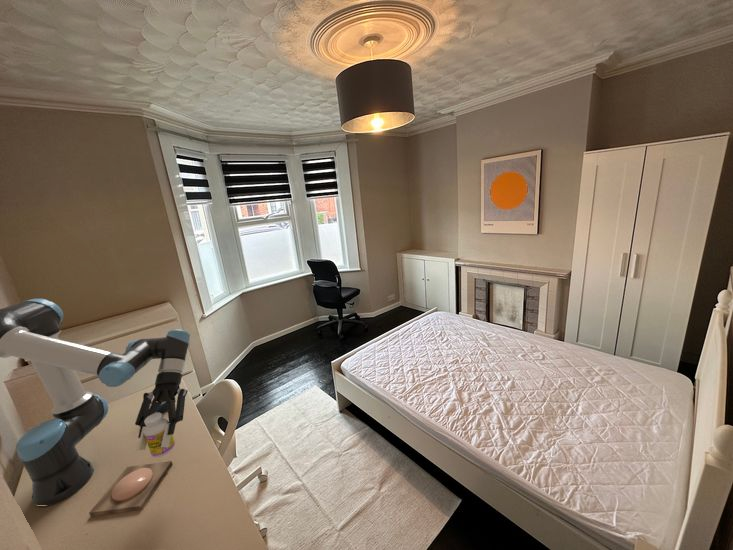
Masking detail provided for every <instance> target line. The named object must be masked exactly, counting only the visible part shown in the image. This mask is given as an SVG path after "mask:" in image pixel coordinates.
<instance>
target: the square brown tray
mask: <svg viewBox="0 0 733 550" xmlns="http://www.w3.org/2000/svg"><path fill="white" fill-rule="evenodd" d="M172 466H173V462H172V460H169V461H162V462H161V461H160V462H154V463H148V464H147V463H146V464H139V465H138V464H137V465H133V466H132V465H131V466H126V468H125V469H124V470H123V471H122V473H121V474H120V475H119V476H118V477H117V478H116V480H115V481H114V482H113V484H112V485H111V486H110V487H109V488H108V489H107V491H106V492H105V493H104V494H103V496H102V497H101V498H99V501H97V503H96V504H95V505H94V506H93V507H92V509H91V510H90V511H89V512H88V514H89V516H90V517H97V516H105V515H113V514H118V513H125V512H126V513H127V512H133V511H140V510H143V509H145V506H146V505H147V503H148V501H149V500H150V498H151V497H152V496H153V495H154V492H155V491H156V490H157V488H158V487H159V485H160V484H161V483H162V482H163V479H164V478H165V477H166V475H167V474H168V472H169V470H170V469H171V468H172ZM141 468H150V469H151V470H152V472H153V478H152V480H151V482H150V483H149V484H148V486H147V487H146V488H145V489H144V490H142V491H141V492H140V493H139V494H137V495H135V496H134V497H132V498H130V499H127V500H124V501H115V500H114V499H113V497H112V490H113V489H114V487H115V486H116V484H117V483H118V482H119V481H120V480H121V479H122V478H124V477H125V476H126V475H128V474H130V473H131V472H133V471H135V470H138V469H141Z"/></svg>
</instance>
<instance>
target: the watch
mask: <svg viewBox="0 0 733 550" xmlns="http://www.w3.org/2000/svg"><path fill="white" fill-rule="evenodd" d="M151 392H153V390H151ZM151 403H152V401H151ZM166 412H168V409H167V403H166V401H165V402H162V404H161V405H160V406H159V408H158V409H157V411H156V413H161V414H162V415H163V414H164V413H166Z"/></svg>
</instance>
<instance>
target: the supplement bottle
mask: <svg viewBox="0 0 733 550" xmlns="http://www.w3.org/2000/svg"><path fill="white" fill-rule="evenodd" d="M168 422H169V419H167V418H165V417H163V413H162V414H161V413H158V412H156V413H154V414H152V415H150V416H148V417H147V418H146V419H145V421H144V423H145V425H146V427H145V429H144V435H145V438H146V441H147V446H148V449H149V452H150V454H151V457H153V458H157V459H158V458H161V457H164V456H166V455H168V454H169V453H170V452H172V451H173V449H174V448H175V446H176V442H175V439H174V434H173V435H171V438H170V443H169V447H161V445H162V440H163V436H164V431H165V426H166V424H170V423H168Z"/></svg>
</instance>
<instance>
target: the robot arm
mask: <svg viewBox="0 0 733 550" xmlns="http://www.w3.org/2000/svg"><path fill="white" fill-rule="evenodd" d="M63 319H64V313H63V310H62V309H61V307H60V306H59V305H58V304H56V303H55V302H53V301H50V300H48V299H45V298H32V299H27V300H22V301H19V302H17V303H14V304H12V305H8V306H6V307H2V308H0V358H2V359H5V358H6V359H7V358H10V357H13V358H14V357H15V358H20V359H24V360H29V361H30V363H31V365H32V366H33V368H34V370H35V372H36V374H37V376H38V377H39V379H40V381H41V382H42V385H43V386H44V388H45V390H46V392H47V394H48V395H49V397H50V399H51V401H52V403H53V405H54V406H53V407H52V409H51V414H52V416H53V417H54V418H52V419H48V420H46V421H45V420H44V421H43V422H41V423H40V424H39V425H35V426H34V427H32V428H31V429H29V430H27V431H26V432H25V433H24V434H23V435H22V436H21V437H20V438H19V440H18V441H17V443H16V445H15V450H16V453H17V457H18V459H19V460H20V461H21V463H22V464H23V465H22V466H24V468H25V470H26V472H27V474H28V476H29V479H30V480H31V482H32V488H31V489H32V490H31V491H32V494H31V500H32V503H33V504H34V505H35V504H36V505H49V506H51V505H50V504H52V505H54V503H55V504H57V503H59V502H61V501H63V500H66V499H67V498H68V497H70V496H71V495H73V494H75V493H76V492H77V491H79V490H80V489H81V488H83V486H84V485H86V484H87V482H89V481H90V479H91V478H92V476H93V474H94V472H95V471H94V468H93V467H94V466H93V465H92V464H91V462H90V461H88V460H87V459H86V458H84V457H83V456H82V455H80V454H79V452H78V449H77V447H76V446H77V445H78V444H79V443H80V442H81V441H82V440H83V439H84V438H85V437H87V435H89V434H90V432H92V431H93V430H94V429H95V428H97V427H98V426H99V425H100V424H101V423H102V421H103V420H104V419H105V418H106V417H107V415H108V413H109V405H108V402H107V400H106V399H105V398H104V397H101V395H99V394H95V393H93V392H92V391H88V390H85V388H84V385H83V384H82V382H81V378H79V376H78V373H77V372H81V373H85V374H90V375H95V376H98V379H99V381H100V382H101V384H104V385H105V386H106V387H108V388H109V387H110V388H117V387H120V386H121V385H123V384H125V383H126V382H127V381H130V380H131V379H132V378H133V377H134V375H136V374H137V373H139V371H140V370H142V368H143V367H145V366H146V365H147V364H149V362H151V361H152V360H160V362H159V365H158V369H157V372H158V373H157V375H156V378H155V383H154V388H153V390H152V391H153V392H152V391H150V392H145V393H143V394H142V395H143V398H142V399H143V400H142V402H141V406H140V408H139V411H138V414H137V416H136V419H135V426H139V427H140V428H139V432H138V436H137V438H138V439H139V441H138V446H137V448H136V451H145V450H146V448H147V446H148V444H147V441H146V438H145V435H144V429H145V427H146V425H145V423H144V421H145V419H146V418H147V417H148V416H150V415H152V414H154V413H157V409H158V408H159V406H160V405H161V404H162V402H165V401H166V403H167V409H168V410H167V415H168V423H169V424H166V426H165V431H164V436H163V440H162V445H161V447H169V443H170V438H171V435H173V436H174V433H175V429H176V425H177V423H179V422H182V421H183V420H184V414H185V402H186V397H187V394H188V391H189V390H188V389H185V388H180V386H181V382H182V378H183V372H184V368H185V363H186V356H187V353H188V349H189V345H190V338H191V334H190V333H189V332H188V331H187V330H185V329H172V330H169V331H167V334H166V336H164V337H163V336H162V337H151V338H140V339H134V340H131V341H130V342H129V343H128V345H127V346H126V347H125V352H124V353H122V354H120V353H118V352H117V353H116V352H112V351H108V350H104V349H100V348H95V347H92V346H87V345H84V344H79V343H74V342H72V341H67V340H63V339H60V338H59V336H60V333H62V329H61V327H60V324H61V322H62V321H63ZM151 402H152V403H151Z"/></svg>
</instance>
